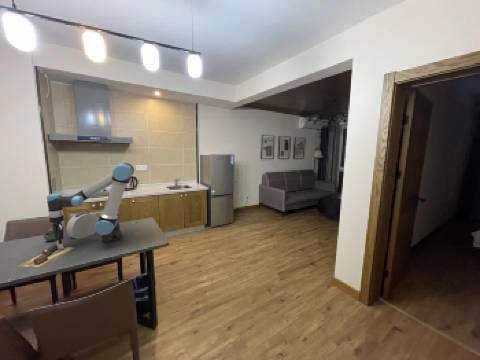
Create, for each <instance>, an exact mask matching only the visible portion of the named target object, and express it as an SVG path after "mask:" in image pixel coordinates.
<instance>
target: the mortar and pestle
mask: <svg viewBox="0 0 480 360" xmlns="http://www.w3.org/2000/svg"><path fill="white" fill-rule="evenodd" d="M47 231H48V232H45V233H43V239H44V240H45V241H47V242H50V243H51V242H55V241H56V238H55V235H54V231H53V228H49V229H48V230H47ZM56 242H57V241H56Z"/></svg>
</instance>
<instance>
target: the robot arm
mask: <svg viewBox="0 0 480 360" xmlns="http://www.w3.org/2000/svg"><path fill="white" fill-rule="evenodd" d="M134 173H135V168H134V166H133V165H132V164H131V163H129V162H122V163H118V164H116V165H115V166H114V167H113V169H112V172H110V173H108V175H105V176H104V177H102V178H100V179H98V180H97V181H95V182H93V183H92V184H90V185H89V186H87V187H85V188H83V189H81V190H80V191H78V192H76V193H75V194H72V195H70V196H62V193H50V194H48V195H47V196H46V203H47V208H48V218H49V223H50V224H51V226H52V229H53V231H54V235H55V238H56V243H57V248H58V249H60V248H63V247H64V243H63V239H64V226H63V223H62V222H63V221H65V216H64V211H65V210H64V209H63V208H77V207H82V206H83V204H84V202H85V201H86V200H89V198H91V197H93V196H95V195H96V194H99V193H100V192H101V191H103V190H105V189H107V188H108V187H110V186H111V187H110V190H109V192H108V193H109V194H108V196H107V199H106V202H105V205H104V209H103V212H101V213H100V214H99V217H98V222H97V223H96V225H95V231H96V233H97V234H98V235H101V237H100V240H101V242H102V243H106V244H107V243H114V242H115V243H116V242H117V241H120V240H122V239H123V238H124V233H123V232H122V229H121V224H120V223H121V222H120V212H119V207H120V204H121V202H122V200H123V199H122V198H123V195H124V192H125V190H126V186H127V185H129V183H130V181H131V179H132V178H131V177H132V176H133V175H134Z"/></svg>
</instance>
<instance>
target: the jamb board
mask: <svg viewBox="0 0 480 360" xmlns="http://www.w3.org/2000/svg"><path fill="white" fill-rule="evenodd" d="M75 249H76V247H64V246H63V248H60V249H58V250H56V251H55V252H53V253H52V254H51V255H50V256H47V255H42V253H40V254H38V255H36V256H35V257H32V258H31V259H28V260H27V261H24V262H22V263H20V264H18V267H21V268H23V267H24V268H25V267H27V268H28V267H29V268H44V267H46V266H47V265H50V264H51V263H53V262H54V261H56V260H57V259H59V258H61V257H63V256H65V255H66V254H68V253H69V252H71V251H73V250H75Z"/></svg>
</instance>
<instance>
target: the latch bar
mask: <svg viewBox="0 0 480 360" xmlns="http://www.w3.org/2000/svg"><path fill="white" fill-rule="evenodd" d="M56 250H58V248H57V242H55V243H54V244H52V245H50V246H49V247H48V248H46V249H44V250H41V254H42V255H47V256H50V255H51V254H52V253H53V252H55V251H56Z"/></svg>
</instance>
